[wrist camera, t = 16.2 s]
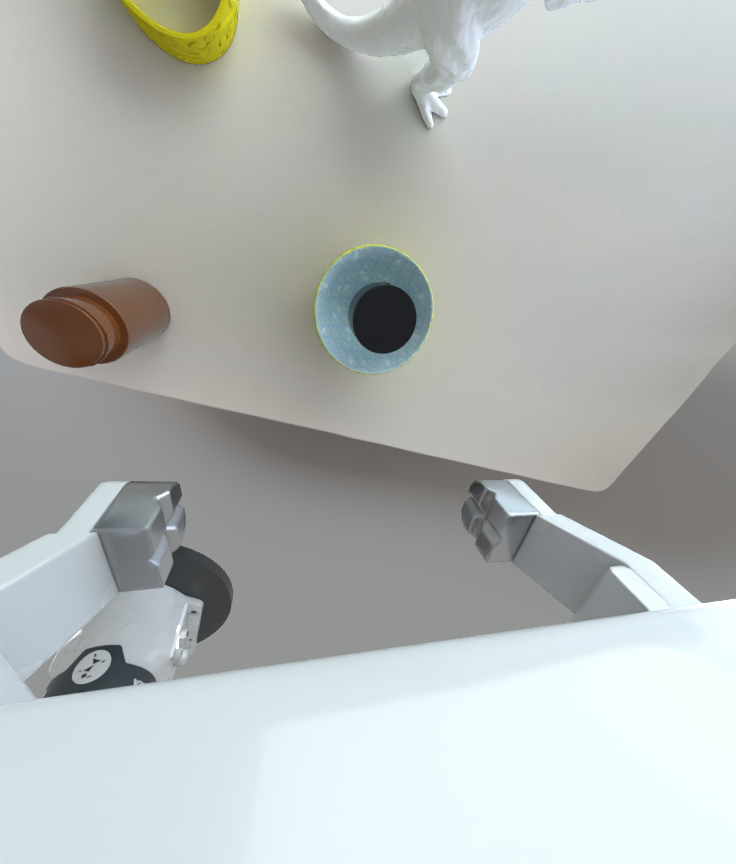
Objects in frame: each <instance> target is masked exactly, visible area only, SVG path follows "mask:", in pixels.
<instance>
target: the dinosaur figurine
mask: <svg viewBox="0 0 736 864" xmlns="http://www.w3.org/2000/svg"><path fill="white" fill-rule="evenodd" d="M301 1H302V3H303V4H304V6H305V8H306V10H307V12H308V14H309V15H310V17H311V18H312V19H313V21H314V22H315V23H316V25H317V26H318V27H319V28H320V29H321V30H322V31H323V32H324V33H325V34H326V35H327V36H328V37H329V38H330V39H332V40H333V41H335V42H336V43H338V44H339V45H341V46H343V47H345V48H348V49H350V50H352V51H354V52H358V53H361V54H366V55H370V56H374V57H375V56H376V57H383V56H397V55H406V54H408V53H412V52H414V51H417V50H420V49H424V48H425V49H426V51H427V53H428V55H429V57H430V59H429V60H428V61H427V62H426V63H425V65H424V66H423V68H422V69H421V70H420V71H418V72H417V73H416V74H415V75H414V77H413V83H412V88H411V91H412V94H413V96H414V97H415V99H416V102H417V104H418V107H419V110H420V112H421V115H422V117H423V119H424V122H425V124H426V125H427V127H428V128H429V129H430V128H432V127H433V124H434V123H433V119H432V116H431V112H434V113H436V114H437V115H439V116H441V117H443V118H445V117H446V116H447V114H448V111H447V108H446V107H445V106H444V105H443V104H442V102H441V101H440V100H439V98H438V97H440V96H447V95H449V94H450V93H451V91H452V90H451V86H452V85H453V84H454V83H456V82H458V81H463V80H465V79H467V78H468V77H469V76H470V74H471V73H472V71H473V69H474V67H475V63H476V60H477V56H478V54H479V49H480V41H481V39H482V38H483V37H485V36H486V35H488V34H489V33H492V32H493V31H494V30H495V29H497V28H498V27H500V26H501V25H502V24H504V23H505V22H506V21H507V20H509V19H510V18H511V17H513V15H514V14H515V13H516V12H518V11H519V10H520V9H522V8H523V7H524V6H525V5H526V4H527V3H528V2H529V1H530V0H390V1H389V2H388V3H386V4H385V5H383V6H382V7H381V8H380V9H378V10H376V11H374V12H372V13H369V14H367V15H363V16H358V17H348V16H345V15H343V14H341V13H339V12H337V11H336V10H335V9H333V8H332V7H331V6H330V5H328V4H327V3H326V2H325V1H324V0H301ZM591 1H593V2H595V1H597V0H545V7H546V9H547V10H548V11H552V10H558V9H562V8H566V7H567V6H569V5H571V4H573V3H576V2H591Z"/></svg>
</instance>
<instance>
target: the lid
mask: <svg viewBox="0 0 736 864" xmlns="http://www.w3.org/2000/svg"><path fill="white" fill-rule="evenodd" d="M348 321H349V326H350V329H351V331H352V333H353V334H354V336H355V337H356V338H357V340H358V341H359V342H360V344H361V345H362V346H363V347H365V348H366V349H367V350H369V351H371V352H374V353H378V354H387V353H392V352H394V351H396V350H398V349H400V348H401V347H403V346H404V345H405V344H406V343H407V342H408V341H409V339H410V338H411V336H412V334H413V332H414V330H415V326H416V321H417V314H416V308H415V305H414V303H413V301H412V299H411V297H410V296H409V295H408V294H407V293H406V292H405V291H404V290H402V289H401V288H399V287H396V286H394V285H390V283H387V282H383V283H382V282H376V283H371V284H368V285H366V286H364V287H363V288H361V289H360V290H359V291H358V292H357V293H356V294H355V296H354V297H353V299H352V301H351V303H350V306H349V310H348Z"/></svg>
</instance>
